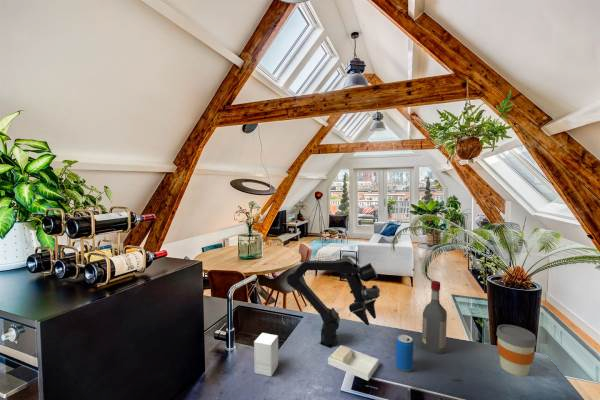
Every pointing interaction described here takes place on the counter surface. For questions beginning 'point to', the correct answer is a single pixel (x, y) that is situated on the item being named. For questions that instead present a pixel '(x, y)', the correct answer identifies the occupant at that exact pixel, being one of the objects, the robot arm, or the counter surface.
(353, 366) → the white rectangular tray
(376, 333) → the counter surface
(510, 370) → the reusable coffee cup
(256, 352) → the supplement box
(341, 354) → the beige rectangular block
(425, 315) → the liquor
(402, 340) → the beverage can
